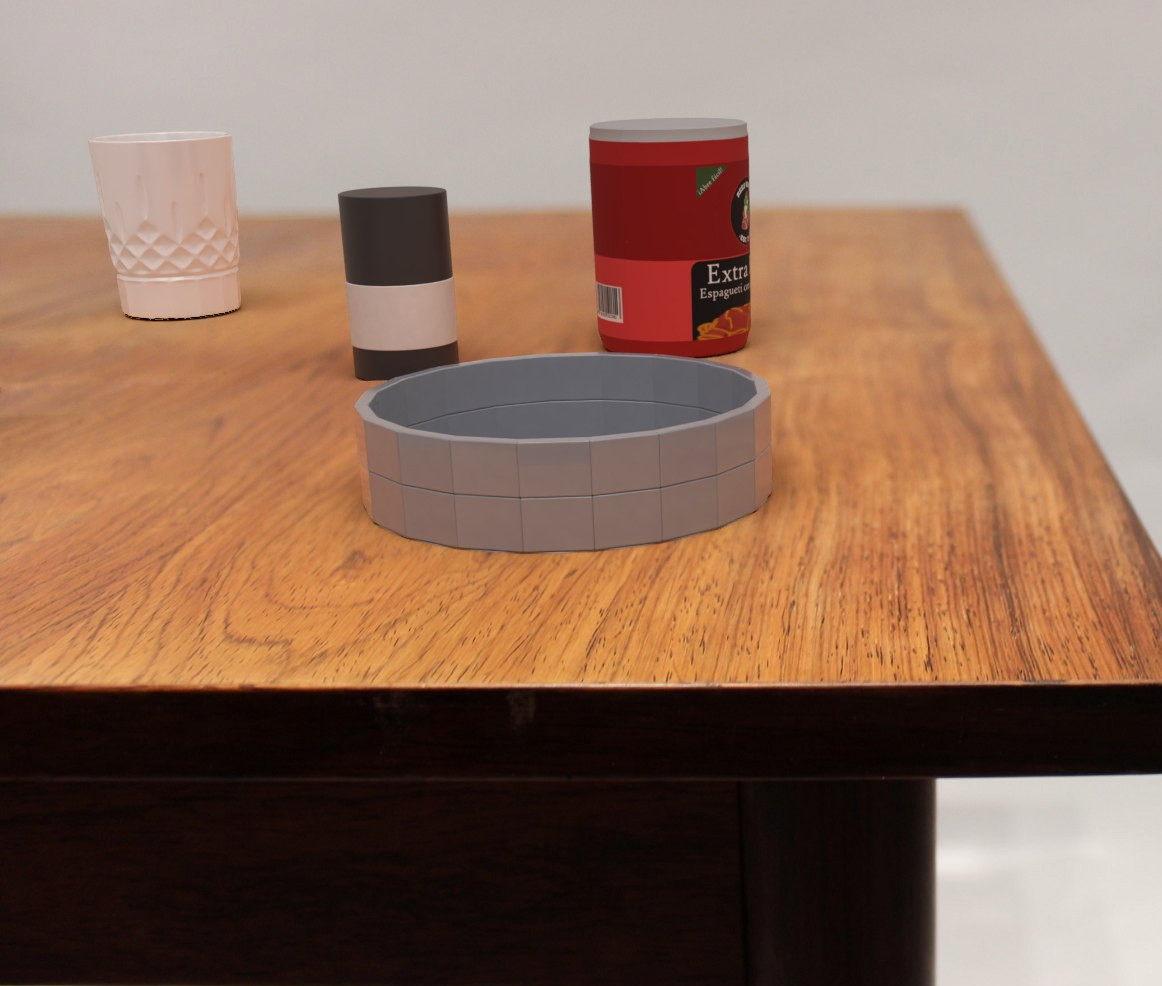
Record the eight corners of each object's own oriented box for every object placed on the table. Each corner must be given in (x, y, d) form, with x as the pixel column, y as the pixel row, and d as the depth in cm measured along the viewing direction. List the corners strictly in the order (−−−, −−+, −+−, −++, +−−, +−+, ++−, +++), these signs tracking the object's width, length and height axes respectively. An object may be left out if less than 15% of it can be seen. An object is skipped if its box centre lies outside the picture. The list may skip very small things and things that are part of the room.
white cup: (244, 318, 96) (223, 138, 93) (101, 325, 95) (75, 143, 92) (257, 297, 103) (238, 129, 100) (125, 303, 102) (101, 133, 99)
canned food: (724, 363, 81) (719, 128, 78) (573, 356, 84) (561, 128, 80) (771, 334, 88) (768, 117, 84) (630, 328, 91) (621, 117, 87)
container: (345, 384, 79) (327, 198, 76) (363, 362, 83) (346, 187, 80) (454, 381, 79) (440, 196, 76) (465, 359, 83) (453, 184, 81)
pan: (333, 574, 52) (320, 448, 50) (398, 459, 65) (389, 357, 64) (784, 560, 52) (783, 435, 51) (758, 449, 65) (757, 347, 64)
